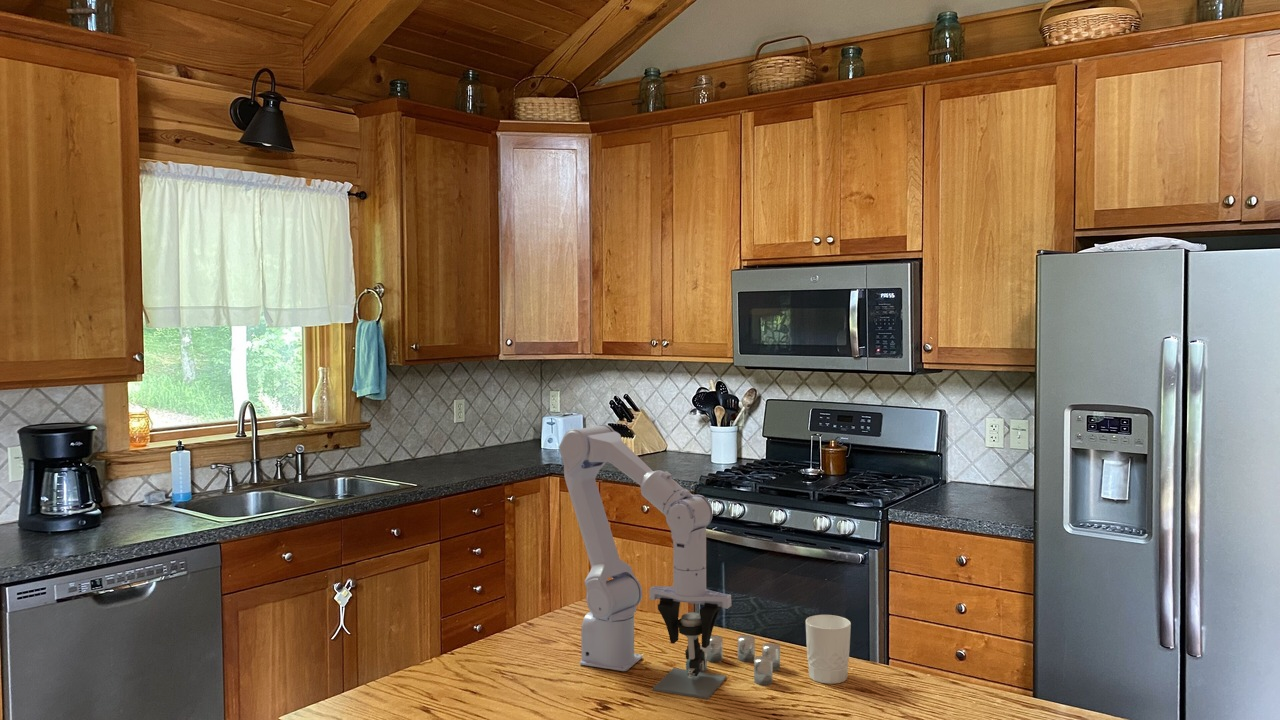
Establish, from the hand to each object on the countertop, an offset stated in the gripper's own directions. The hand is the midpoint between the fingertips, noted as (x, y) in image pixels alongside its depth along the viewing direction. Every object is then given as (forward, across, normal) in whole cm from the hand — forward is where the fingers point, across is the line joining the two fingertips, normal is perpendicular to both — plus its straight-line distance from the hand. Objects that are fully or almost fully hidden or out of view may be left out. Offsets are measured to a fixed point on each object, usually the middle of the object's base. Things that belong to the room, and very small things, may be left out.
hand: (690, 643), depth 166 cm
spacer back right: (+7, -11, -13) cm, 18 cm away
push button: (+6, 0, -1) cm, 6 cm away
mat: (+7, 0, 0) cm, 7 cm away
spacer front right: (+7, -12, -6) cm, 15 cm away
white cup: (+7, -22, -12) cm, 26 cm away
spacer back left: (+7, 0, -13) cm, 15 cm away
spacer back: (+7, -6, -16) cm, 18 cm away
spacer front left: (+7, +1, -7) cm, 10 cm away
